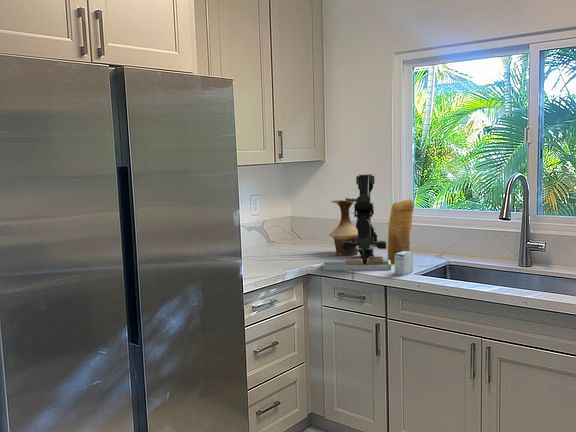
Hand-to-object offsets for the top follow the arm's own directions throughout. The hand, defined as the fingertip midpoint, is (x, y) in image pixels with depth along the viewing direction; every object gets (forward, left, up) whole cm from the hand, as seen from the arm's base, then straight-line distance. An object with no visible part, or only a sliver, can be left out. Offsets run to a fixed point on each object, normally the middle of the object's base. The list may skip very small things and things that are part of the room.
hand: (364, 264), depth 253 cm
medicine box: (+11, +16, -2) cm, 20 cm away
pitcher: (-34, -9, -2) cm, 35 cm away
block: (0, +5, -2) cm, 5 cm away
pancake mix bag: (-14, +16, -2) cm, 21 cm away
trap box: (-2, -4, -2) cm, 5 cm away
